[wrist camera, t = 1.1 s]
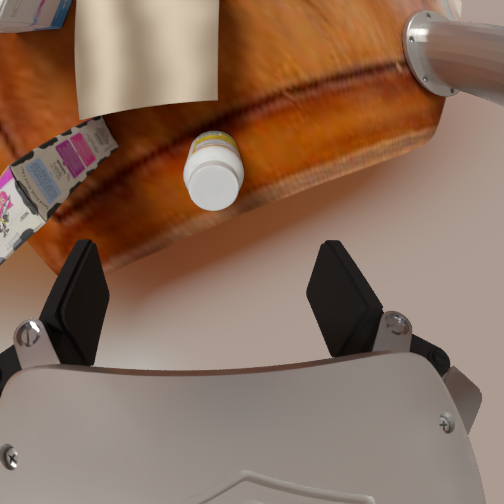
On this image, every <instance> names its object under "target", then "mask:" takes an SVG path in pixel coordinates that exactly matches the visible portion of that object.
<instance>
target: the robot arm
mask: <svg viewBox="0 0 504 504" xmlns="http://www.w3.org/2000/svg"><path fill="white" fill-rule="evenodd" d="M403 49H404V54H405V58H406V60H407V63H408V66H409V68H410V70H411V72H412V74H413V75H414V77H415V78H416V80H417V81H418V82H419V83H420V84H421V85H422V86H423V87H424V88H425V89H426V90H428V91H429V92H431V93H433V94H436V95H439V96H444V97H448V96H453V95H455V94H457V93H458V92H459V91H463V92H467V93H469V94H472V95H475V96H478V97H481V98H484V99H486V100H489V101H492V102H494V103H497V104H499V105H501V106H504V26H498V25H491V24H483V23H473V22H460V21H450V20H448V19H447V18H446V17H444V16H443V15H441V14H439V13H437V12H434V11H419V12H416V13H414V14H412V15H411V16H410V17H409V18H408V20H407V22H406V24H405V27H404V30H403ZM306 292H307V293H306V294H307V298H308V301H309V303H310V305H311V308H312V310H313V313H314V315H315V318H316V320H317V322H318V325H319V327H320V330H321V332H322V335H323V337H324V340H325V342H326V345H327V347H328V350H329V352H330V355H331V356H332V357H335V358H329V359H323V360H316V361H309V362H302V363H294V364H285V365H277V366H267V367H254V368H242V369H225V370H224V369H223V370H192V371H191V370H190V371H189V370H188V371H167V370H163V371H162V370H135V369H119V368H104V367H92V366H93V365H94V362H95V357H96V352H97V347H98V342H99V338H100V334H101V329H102V325H103V321H104V317H105V313H106V309H107V306H108V302H109V290H108V287H107V283H106V280H105V276H104V273H103V269H102V265H101V262H100V258H99V254H98V250H97V246H96V244H95V243H93V242H92V240H78V241H77V242H76V244H75V245H74V247H73V249H72V251H71V253H70V254H69V256H68V258H67V260H66V262H65V264H64V266H63V268H62V270H61V272H60V274H59V275H58V277H57V279H56V281H55V283H54V285H53V287H52V290H51V292H50V294H49V296H48V298H47V301H46V303H45V305H44V308H43V310H42V312H41V315H40V317H39V320H37V319H34V318H32V319H28V320H25V321H23V322H22V323H21V324H20V325H19V326H18V327H17V328H16V330H15V332H14V337H13V340H14V345H12V346H11V347H9V348H8V349H6V350H5V351H4V352H2V353H1V354H0V504H486V501H485V496H484V490H483V486H482V481H481V477H480V473H479V469H478V465H477V462H476V459H475V455H474V452H473V449H472V446H471V443H470V440H469V437H468V434H469V432H470V429H471V427H472V425H473V422H474V420H475V418H476V415H477V413H478V410H479V408H480V405H481V402H482V394H481V392H480V390H479V388H478V387H477V386H476V385H475V384H473V382H471V381H470V380H469V379H468V378H467V377H466V376H465V375H464V374H463V373H461V372H460V371H459V370H458V369H457V368H456V367H455V366H452V367H450V360H449V357H448V356H447V354H446V353H445V352H444V351H443V350H442V349H441V348H439V347H437V346H435V345H433V344H431V343H429V342H427V341H425V340H423V339H422V338H420V337H417V336H416V335H414V334H412V326H411V323H410V321H409V320H408V319H407V318H406V317H405V316H404V315H402V314H401V313H399V312H396V311H387V312H385V313H384V312H383V310H382V308H383V306H382V304H381V303H380V301H379V299H378V298H377V296H376V295H375V293H374V291H373V290H372V288H371V287H370V285H369V283H368V282H367V280H366V279H365V277H364V276H363V274H362V273H361V271H360V270H359V268H358V267H357V265H356V264H355V262H354V261H353V259H352V258H351V256H350V255H349V254H348V252H347V250H346V249H345V248H344V246H343V245H342V243H341V242H340V241H338V240H327V241H325V243H324V244H322V245H321V246H320V250H319V253H318V256H317V259H316V262H315V266H314V269H313V272H312V275H311V278H310V281H309V284H308V287H307V291H306ZM91 365H92V366H91Z"/></svg>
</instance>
